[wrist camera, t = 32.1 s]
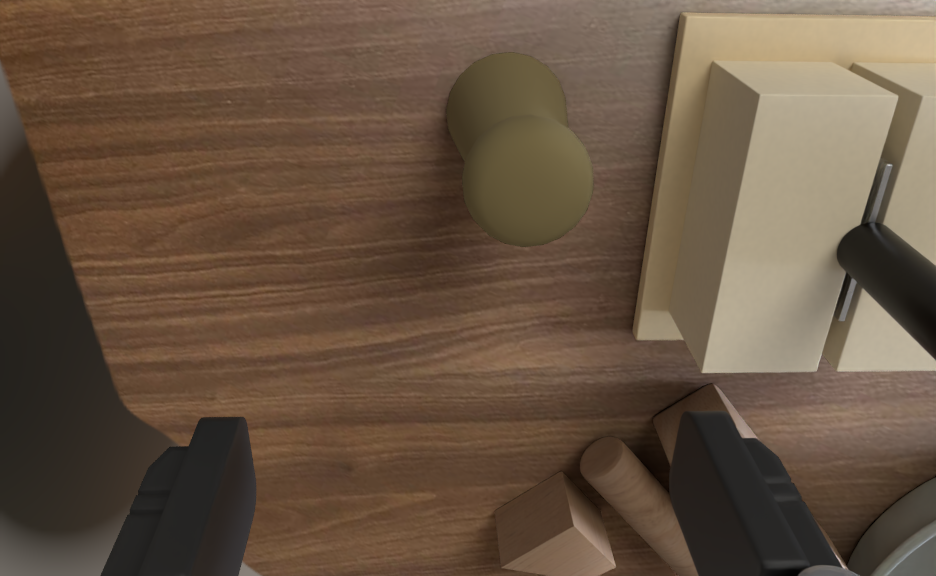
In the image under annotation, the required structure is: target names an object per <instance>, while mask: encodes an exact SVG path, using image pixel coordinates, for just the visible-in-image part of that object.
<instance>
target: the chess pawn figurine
mask: <svg viewBox="0 0 936 576" xmlns="http://www.w3.org/2000/svg"><path fill="white" fill-rule="evenodd" d="M446 114H447V123H448V130H449V132H450V134H451V136H452V139H453V141H454V143H455V145H456V147H457V149H458V151H459V152H460V154H461V156H462V158H463V160H464V162H465V165H464V169H463V173H462V185H463V194H464V202H465V204H466V206H467V208H468V210H469V212H470V214H471V216H472V218H473V219H474V221H475V222H476V223H477V224H478V225H479V226H480V227H481V228H482V229H483V230H484V231H485V232H486V233H487V234H488V235H489V236H491V237H493V238H495V239H497V240H499V241H501V242H503V243H505V244H510V245H515V246H521V247H529V246H538V245H544V244H547V243H549V242H551V241H554V240H556V239H559V238H561V237H562V236H564V235H565V234H566V233H567V232H569V231H570V230H571V229H573V228H574V227H575V226H576V225H577V224H578V222H579V221H580V219H581V218H582V217H583V215H584V214H585V212H586V211H587V209H588V206H589V203H590V199H591V196H592V193H593V166H592V163H591V161H590V158H589V155H588V153H587V150H586V148H585V146H584V145H583V144H582V142H581V141H580V140H579V139H578V138H577V136H576V135H575V134H574V133H573V132H572V131H571V130H570V129H569V128H568V119H567V109H566V99H565V96H564V93H563V90H562V88H561V85H560V82H559V80H558V79H557V78H556V76H555V75H554V74H553V73H552V72H551V70H550V69H549V68H548V67H547V66H546V65H544V64H543V63H541V62H539V61H538V60H536V59H534V58H533V57H531V56H527V55H523V54H518V53H513V52H509V53H499V54H492V55H490V56H487V57H485V58H483V59H481V60H478V61H476V62H474V63H473V64H472V65H471V66H470V67H469V68H468V69H466V70H465V71H464V72H463V73H462V74H461V75H460V76H459V78H458V79H457V81H456V83H455V85H454V86H453V88H452V90H451V92H450V95H449V100H448V105H447V109H446Z"/></svg>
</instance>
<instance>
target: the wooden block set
mask: <svg viewBox="0 0 936 576" xmlns="http://www.w3.org/2000/svg"><path fill="white" fill-rule="evenodd" d="M685 411H726V412H727V413H728V414H729V415H730V417H731V419H732V420H733V422H734V424H735V426H736V428H737V430H738V432H739V433H740V435H741V437H742V438H757V436H756V435H755V434H754V433H753V431H752V430H751V429H750V427H749V426H748V425H747V423H746V422H745V421H744V420H743V418H742V417H741V416H740V414H739V413H738V412H737V411H736V409H735V408H734V407H733V405H732V404H731V403H730V401H729V400H728V399H727V398H726V396H725V395H724V394H723V392H722V391H721V390H720V389H719V387H718V386H716V385H714V384H712V383H711V384H707V385H705V386H704V387H702V388H700V389H699V390H697V391H695V392H694V393H692V394H690V395H689V396H687V397H685V398H684V399H682V400H680V401H679V402H677V403H675V404H674V405H672V406H670V407H669V408H667V409H665V410H664V411H662V412H660V413H659V414H657V415H656V416H655V417H654V418H653V424H654V427H655V430H656V432H657V434H658V437H659V439H660V442H661V444H662V447H663V449H664V451H665V454H666V456H667V459H668V461H669V464H670V466H671V463H672V458H673V453H674V448H675V443H676V438H677V433H678V428H679V423H680V419H681V416H682V414H683V413H684V412H685ZM757 439H758V438H757ZM758 440H759V439H758ZM759 441H760V440H759ZM580 471H581V474H582V476H583V477H584V478H585V479H586V480H587V481H588V482H589V483H590V484H591V485H592V486H593V487H594V488H595V490H596V491H597V492H598V493H599V494H600V495H601V496H602V497H603V498H604V499H605V500H606V501H607V502H608V503H609V504H610V505H611V506H612V507H613V508H614V509H615V510H616V511H617V512H618V513H619V514H620V515H621V516H622V517H623V518H624V520H625V521H626V522H627V523H628V524H629V525H630V526H631V527H632V528H633V529H634V530H635V531H636V532H637V533H638V534H639V535H640V536H641V537H642V538H643V539H644V540H645V541H646V542H647V543H648V544H649V545H650V546H651V547H652V548H653V550H654V551H655V552H656V553H657V554H658V555H659V556H660V557H661V558H662V559H663V560H664V561H665V562H666V563H667V564H668V565H669V566H670V567H671V568H672V569H673V570H674V571H675V572H676V573H677V574H678V575H679V576H699V575H698V573H697V570H696V567H695V565H694V562H693V560H692V557H691V554H690V552H689V549H688V546H687V544H686V541H685V538H684V536H683V533H682V530H681V528H680V525H679V522H678V520H677V517H676V515H675V512H674V509H673V506H672V503H671V498H670V494H669V493H668V491H667V490H666V489H665V488H664V487H663V486H662V485H661V484H660V483H659V481H658V480H657V479H656V478H655V477H654V476H653V475H652V474H651V472H650V471H649V470H648V469H647V468H646V467H645V466H644V465H643V464H642V462H641V461H640V460H639V459H638V458H637V457H636V456H635V455H634V454H633V452H632V451H631V450H630V449H629V448H628V447H627V446H626V445H625V444H624V442H623V441H622V440H620V439H618V438H616V437H610V436H609V437H603V438H601V439H598V440H596V441H595V442H593V443H592V444H591V445H590V446H589V447H588V448H587V449H586V450H585V452H584V453H583V455H582V457H581V460H580ZM812 516H813V515H812ZM813 518H814V517H813ZM814 519H815V518H814ZM495 520H496V529H497V537H498V546H499V555H500V564H501V568H505V569H511V570H517V571H523V572H528V573H534V574H540V575H546V576H599V575H601V574H603V573H605V572H607V571H609V570H611V569H613V568H615V567H616V565H615V562H614V558H613V554H612V551H611V547H610V543H609V540H608V536H607V533H606V529H605V525H604V522H603V518H602V514H601V511H600V510H599V509H598V508H597V507H596V506H595V505H594V504H593V503H592V502H591V501H590V500H589V499H588V498H587V497H586V496H585V495H584V494H583V492H582V491H581V490H580V489H579V488H578V487H577V486H576V485H575V484H574V483H573V482H572V481H571V480H570V479H569V478H568V477H567V476H566V475H565V474H564V473H563V472H562V471H560V472H559V473H557V474H555V475H554V476H552V477H550V478H549V479H547V480H545V481H544V482H542V483H540V484H539V485H537V486H535V487H534V488H532V489H530V490H529V491H527V492H525V493H524V494H522V495H520V496H519V497H517V498H515V499H514V500H512V501H510V502H509V503H507V504H505V505H504V506H502V507H500V508H499V509H497V510H495ZM815 521H816V523H817V524H818V526H819V528H820V530H821V531H822V533H823V535H824V536H825V538H826V540H827V542H828V543H829V545H830V547H831V548H832V550H833V552H834V554H835V555H836V557H837V559H838V560H839V562H840V564H841V566H842V567H843V568H844V569H847V570H849V569H848V568H847V566H846V564H845V563H844V561H843V559H842V558H841V556H840V554H839V553H838V551H837V549H836V548H835V546H834V544H833V543H832V541H831V539H830V538H829V536H828V535H827V533H826V532H825V531H824V529H823V528H822V527H821V526H820V524H819V523H818V522H817V520H816V519H815Z"/></svg>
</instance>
